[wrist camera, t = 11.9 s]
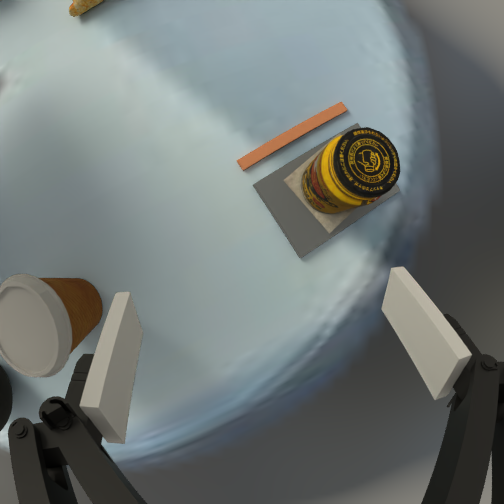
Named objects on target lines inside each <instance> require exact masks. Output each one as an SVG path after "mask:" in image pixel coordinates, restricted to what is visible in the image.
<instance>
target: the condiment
mask: <svg viewBox="0 0 504 504" xmlns="http://www.w3.org/2000/svg"><path fill="white" fill-rule="evenodd" d="M399 174H400V162H399V157H398V153H397V150H396V148H395V147H394V145H393V144H392V143H391V141H390V140H389V139H388V138H387V137H386V136H385V135H384V134H382V133H381V132H379V131H377V130H374V129H371V128H368V127H366V128H357V129H352V130H351V131H348V132H347V133H345V134H344V135H341V134H340V133H339V134H338V135H337V136H335V137H334V138H333V139H332V140H331V141H329V142H328V143H327V144H326V145H325V146H323V147H322V148H321V149H320V150H319V151H317V152H316V153H315V154H314V155H313V156H311V157H310V158H309V159H308V160H307V161H306V162H304V163H303V164H302V165H301V166H300V167H298V168H297V169H296V170H295V171H294V172H293V173H291V174H290V175H289V176H288V177H287V178H286V179H284V180H283V181H284V182H285V183H286V184H287V185H288V186H289V187H290V189H291V190H292V191H293V192H294V193H295V194H296V196H297V197H298V198H299V199H300V200H301V201H302V202H303V204H304V205H305V206H306V207H307V208H308V209H309V211H310V212H311V213H312V214H313V215H314V216H315V217H316V219H317V220H318V221H319V222H320V223H321V224H322V225H323V227H324V228H325V229H326V230H327V231H328V233H331V232H332V231H333V230H334V229H335V228H336V227H337V226H338V225H339V224H340V223H341V222H342V221H343V220H344V219H346V218H347V217H348V216H349V215H350V214H351V213H352V212H353V211H354V210H355V209H356V208H358V207H361V206H365V205H369V204H371V203H373V202H374V201H376V200H377V199H379V198H380V197H381V196H382V195H384V194H386V193H387V192H388V191H390V190H391V189H392V187H393V186H394V185H395V183H396V182H397V181H398V177H399Z"/></svg>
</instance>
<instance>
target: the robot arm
mask: <svg viewBox="0 0 504 504" xmlns="http://www.w3.org/2000/svg"><path fill="white" fill-rule="evenodd" d="M382 311H383V312H384V314H385V315H386V317H387V319H388V320H389V322H390V324H391V325H392V326H393V328H394V330H395V332H396V333H397V335H398V337H399V338H400V340H401V342H402V343H403V345H404V347H405V348H406V350H407V352H408V354H409V355H410V357H411V359H412V360H413V362H414V364H415V366H416V367H417V369H418V371H419V373H420V374H421V376H422V378H423V380H424V382H425V383H426V385H427V387H428V389H429V390H430V392H431V394H432V396H433V398H434V400H437V399H439V398H442V397H445V396H447V395H448V394H449V392H450V391H451V389H452V388H454V390H455V392H456V393H455V395H454V396H453V397H452V399H451V400H450V402H449V403H448V405H447V407H449V406H450V405H451V403H452V405H451V410H450V414H449V419H448V423H447V427H446V430H445V435H444V438H443V442H442V445H441V448H440V452H439V455H438V458H437V461H436V465H435V468H434V471H433V474H432V477H431V479H430V483H429V485H428V488H427V490H426V493H425V496H424V498H423V501H422V503H421V504H479V503H480V499H481V495H482V491H483V488H484V483H485V479H486V475H487V470H488V466H489V461H490V455H491V451H492V502H491V504H504V362H497V360H496V359H494V358H493V357H491V356H490V355H485V354H483V355H482V354H481V353H480V351H479V350H478V348H477V347H476V346H475V344H474V343H473V342H472V340H471V339H470V338H469V336H468V335H467V334H466V333H465V331H464V330H463V329H462V328H461V326H460V325H459V323H458V322H457V321H456V320H455V319H454V318H453V317H451V316H450V315H448V314H444V315H442V314H441V312H440V311H439V310H438V308H437V307H436V306H435V304H434V303H433V302H432V301H431V300H430V298H429V297H428V296H427V294H426V293H425V292H424V291H423V289H422V288H421V287H420V286H419V285H418V283H417V282H416V281H415V280H414V279H413V277H412V276H411V275H410V274H409V273H408V271H407V270H406V269H405V268H404V267H396V268H391V272H390V276H389V281H388V285H387V289H386V293H385V297H384V301H383V305H382ZM142 337H143V331H142V328H141V325H140V322H139V319H138V316H137V312H136V309H135V306H134V303H133V299H132V296H131V293H130V292H118V293H115V296H114V299H113V301H112V304H111V307H110V310H109V312H108V315H107V318H106V321H105V324H104V327H103V330H102V333H101V336H100V339H99V342H98V345H97V348H96V351H95V354H83V355H82V357H81V358H80V359H79V360H78V361H77V363H76V366H75V369H74V374H73V375H72V378H71V381H70V384H69V387H68V391H67V394H66V397H65V399H64V398H61V397H51V398H48V399H47V400H46V401H44V402H43V404H42V405H41V407H40V410H39V416H40V419H41V420H42V421H43V422H42V423H36V424H33V423H32V422H31V421H30V420H29V419H26V418H18V419H16V420H14V421H13V422H12V423H11V425H10V427H9V430H8V438H9V447H10V455H11V462H12V468H13V474H14V480H15V485H16V490H17V495H18V500H19V504H78V502H77V499H76V497H75V494H74V491H73V487H72V484H71V481H70V478H69V474H68V471H67V467H66V465H69V466H70V468H71V470H72V471H73V473H74V475H75V476H76V478H77V480H78V481H79V483H80V484H81V486H82V488H83V489H84V491H85V492H86V494H87V495H88V497H89V498H90V500H91V501H92V503H93V504H147V503H146V502H145V500H143V498H142V497H141V496H140V495H139V494H138V493H137V491H136V490H135V489H134V487H133V486H132V485H131V484H130V482H129V481H128V480H127V479H126V477H125V476H124V475H123V473H122V472H121V471H120V469H119V468H118V467H117V465H116V464H115V463H114V461H113V460H112V458H111V457H110V456H109V454H108V453H107V451H106V450H105V449H104V447H103V446H102V445H101V442H102V436H103V437H104V439H105V440H106V441H107V442H109V443H121V444H125V437H126V430H127V423H128V416H129V409H130V403H131V397H132V391H133V385H134V379H135V373H136V368H137V362H138V357H139V352H140V347H141V342H142Z"/></svg>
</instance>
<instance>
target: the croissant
mask: <svg viewBox="0 0 504 504" xmlns="http://www.w3.org/2000/svg"><path fill="white" fill-rule="evenodd" d="M102 1H103V0H73V4H72V5H71V6H70V7H69V13H70V15H71V16H73V17H75V16H78V15H81V14H82V13H84V12H86V11H88V10H89V9H90V8H92V7H94V6H96V5H98V4H99V3H101V2H102Z"/></svg>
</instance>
